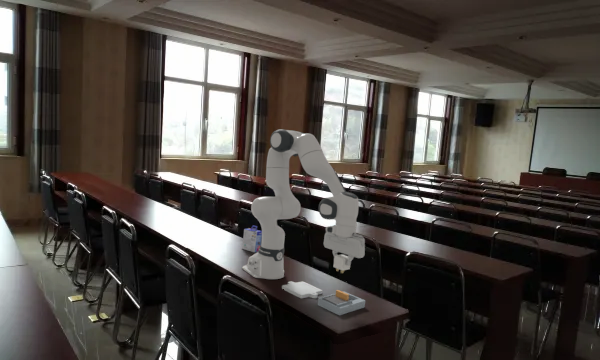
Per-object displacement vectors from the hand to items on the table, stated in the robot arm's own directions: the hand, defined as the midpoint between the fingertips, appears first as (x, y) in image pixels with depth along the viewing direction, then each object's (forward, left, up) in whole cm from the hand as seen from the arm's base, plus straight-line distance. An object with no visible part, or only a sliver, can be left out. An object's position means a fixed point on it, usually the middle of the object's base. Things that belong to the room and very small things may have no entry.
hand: (342, 263), depth 183 cm
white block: (0, 0, -4) cm, 4 cm away
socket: (+3, -1, -18) cm, 18 cm away
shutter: (+3, -4, -15) cm, 16 cm away
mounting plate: (-18, -3, -19) cm, 26 cm away
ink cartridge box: (-81, +17, -18) cm, 85 cm away
